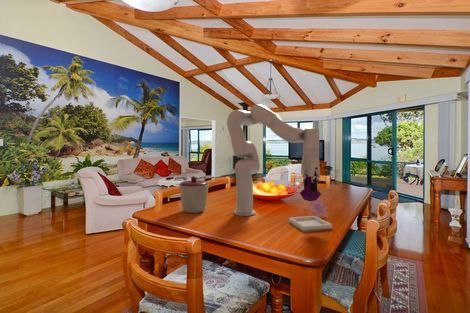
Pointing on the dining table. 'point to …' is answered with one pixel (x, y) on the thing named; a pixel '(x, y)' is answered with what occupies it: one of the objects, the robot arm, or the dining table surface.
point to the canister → (193, 195)
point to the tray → (310, 223)
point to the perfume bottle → (309, 191)
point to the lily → (318, 208)
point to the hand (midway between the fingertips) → (310, 189)
